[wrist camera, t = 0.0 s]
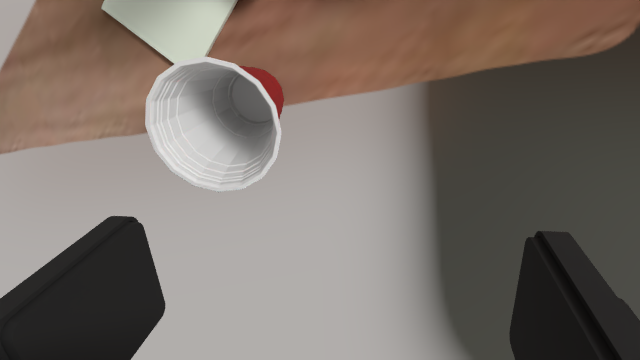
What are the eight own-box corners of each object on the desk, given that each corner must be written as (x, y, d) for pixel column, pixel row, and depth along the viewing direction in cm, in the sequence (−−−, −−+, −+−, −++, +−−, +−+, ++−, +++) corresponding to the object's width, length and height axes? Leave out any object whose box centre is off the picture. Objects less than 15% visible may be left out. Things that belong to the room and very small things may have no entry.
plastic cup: (309, 149, 42) (280, 200, 31) (214, 141, 44) (155, 187, 33) (311, 43, 38) (277, 60, 27) (205, 39, 39) (133, 53, 28)
